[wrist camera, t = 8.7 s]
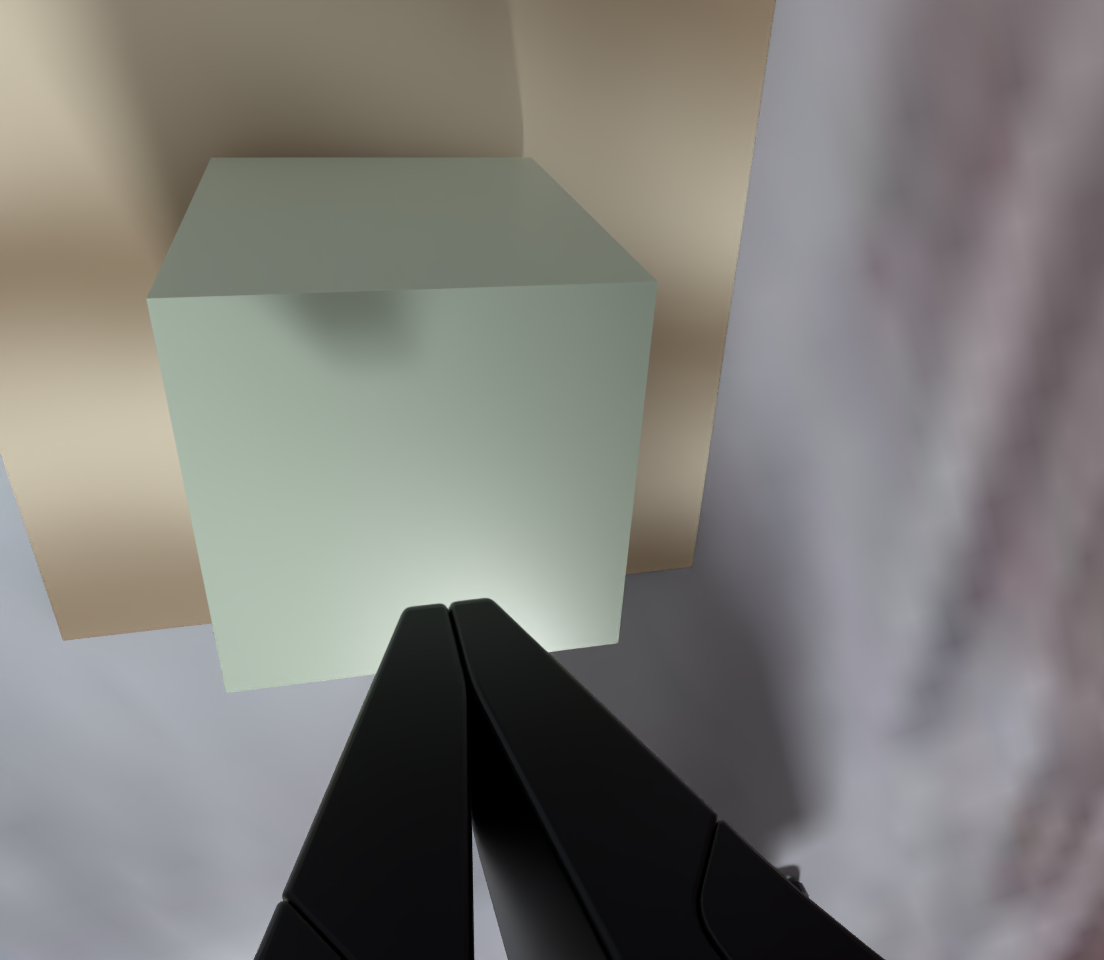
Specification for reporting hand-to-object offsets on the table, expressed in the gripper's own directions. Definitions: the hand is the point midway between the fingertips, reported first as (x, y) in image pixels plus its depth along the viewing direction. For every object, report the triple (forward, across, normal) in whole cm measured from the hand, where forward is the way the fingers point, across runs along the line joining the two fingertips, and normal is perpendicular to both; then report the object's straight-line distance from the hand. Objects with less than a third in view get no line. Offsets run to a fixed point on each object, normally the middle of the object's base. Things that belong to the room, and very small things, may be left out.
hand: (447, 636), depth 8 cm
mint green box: (+9, 0, 0) cm, 9 cm away
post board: (+10, 0, 0) cm, 10 cm away
